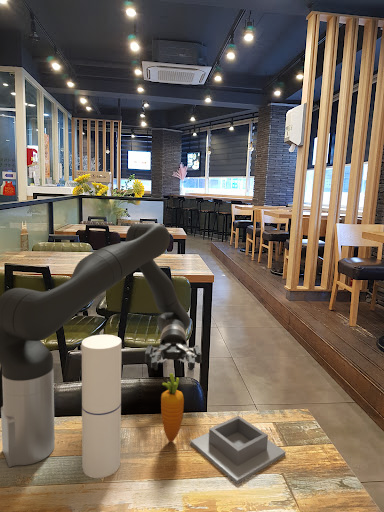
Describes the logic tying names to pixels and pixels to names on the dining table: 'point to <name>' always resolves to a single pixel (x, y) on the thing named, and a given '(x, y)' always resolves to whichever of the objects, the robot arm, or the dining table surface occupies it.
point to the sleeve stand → (238, 448)
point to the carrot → (172, 408)
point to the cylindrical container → (101, 405)
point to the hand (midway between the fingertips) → (173, 366)
